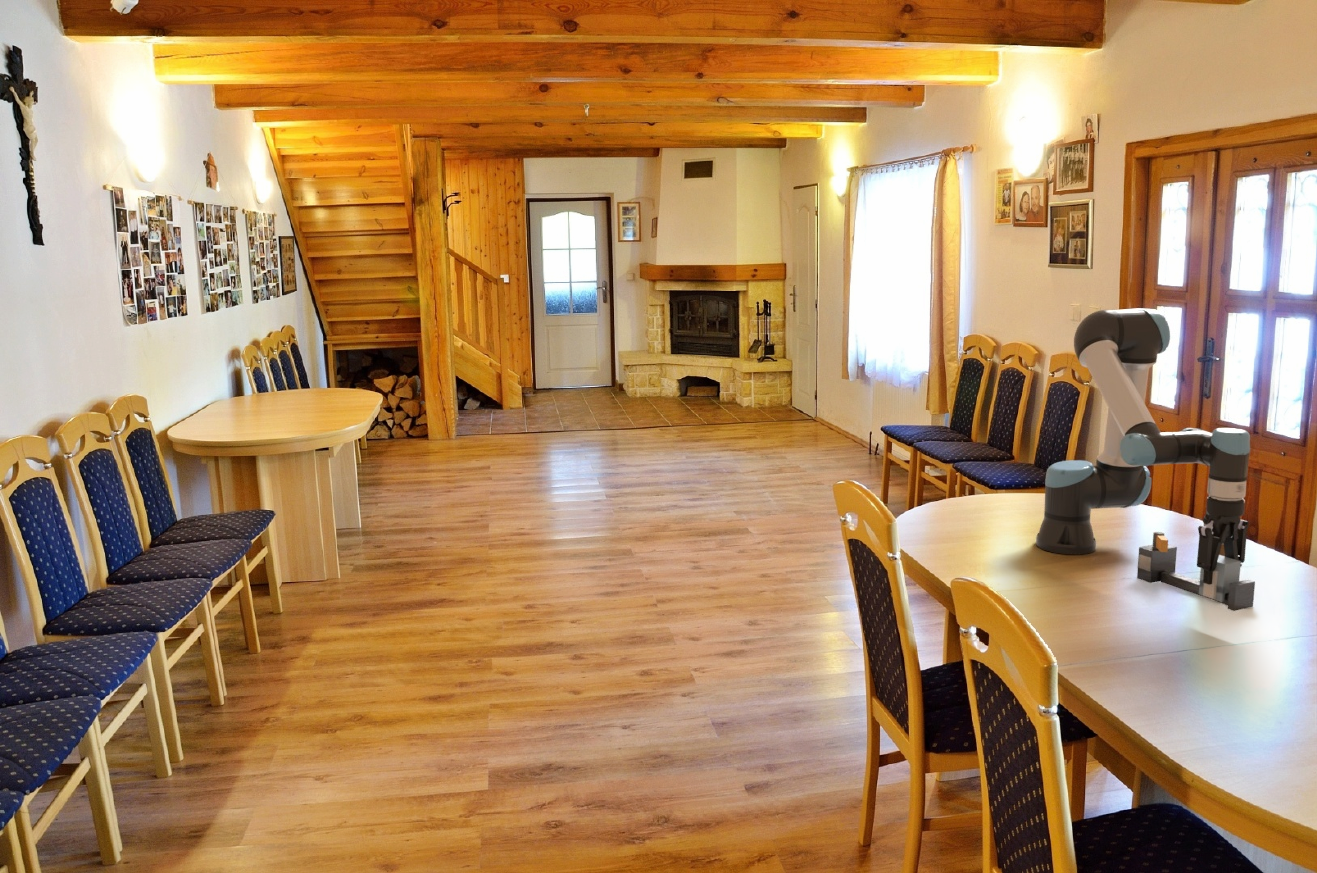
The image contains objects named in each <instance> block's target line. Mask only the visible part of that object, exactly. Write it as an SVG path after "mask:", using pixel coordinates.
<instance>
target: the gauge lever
mask: <svg viewBox="0 0 1317 873" xmlns="http://www.w3.org/2000/svg"><path fill="white" fill-rule="evenodd" d="M1152 536H1153V537H1152V545H1153V546H1154V547H1156V548H1157V549H1158V550H1159V551H1160V552H1167V551H1168V544H1169V539H1168V538H1166V536H1165V533H1164V532H1161V531H1155V532H1153V534H1152Z"/></svg>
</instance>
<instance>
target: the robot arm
mask: <svg viewBox="0 0 1317 873" xmlns="http://www.w3.org/2000/svg"><path fill="white" fill-rule="evenodd" d="M1073 337H1074V338H1073V349H1074V353H1075V355H1076V358H1077V361H1078V362H1079V364H1080V365H1081V366H1082V367H1084V368H1086V369H1087V370H1088V371H1089V373H1090V375H1091V377H1092V379H1093V381H1094V383H1095V385H1096V387H1097V389H1098V390H1099V392H1100V395H1101V396H1102V398H1103V400H1104V402H1105V404H1106V406H1107V408H1108V409H1107V418H1106V424H1105V425H1106V427H1105V436H1104V444H1103V451H1102V452H1100V454H1098V455H1097V456H1096V460H1095V461H1096V462H1095V465H1093V462H1090V461H1087V460H1083V459H1077V460H1075V459H1074V460H1072V459H1071V460H1063V461H1058V462H1054V463H1053V464H1051V465H1050V466H1048V468H1047V469H1046V474H1045V480H1044V484H1045V486H1044V487H1045V488H1044V510H1043V511H1044V512H1043V513H1044V515H1043V520H1042V522H1041V524H1040V527H1039V532H1038V533H1037V535H1036V539H1035V544H1036V546H1037V548H1039V549H1041V550H1044V551H1046V552H1051V553H1055V554H1061V555H1062V554H1063V555H1087V554H1091V553H1093V552H1095V551H1096V547H1097V540H1096V538H1095V536H1094V532H1093V531H1094V530H1093V527H1092V523H1091V512H1092V511H1091V510H1097V509H1098V510H1099V509H1115V508H1119V509H1122V508H1123V509H1126V508H1131V507H1137V506H1140V505H1141V504H1142V503H1143V502H1145V501H1146V499H1147V498H1148V496H1149V494H1150V492H1151V488H1152V477H1150V476H1151V472H1150V470H1149V468H1148V466H1157V465H1158V466H1159V465H1181V464H1183V465H1184V464H1201V465H1205V466H1207V467H1209V468H1208V469H1209V471H1208V480H1207V491H1206V492H1207V495H1208V496H1207V497H1206V504H1205V505H1206V506H1205V511H1206V512H1208V513H1209V515H1210V518H1209V520H1208V524H1207V525H1205V526H1204V525H1199V526H1198V527H1197V529H1198V548H1197V557H1196V558H1197V559H1196V567H1197V568H1200V569H1201V568H1203V569H1204V575H1203V583H1204V587H1203V596H1206V597H1209V598H1212V599H1215V598H1216V588H1217V576H1218V571H1216V570H1215V568H1216V564H1217V561H1218V557H1219V553H1220V549H1221V546H1222V543H1224V551H1225V557H1228V558H1232V559H1235V560H1238V561H1241V566H1240V568H1242V567H1243V563H1245V560H1246V559H1245V558H1246V557H1245V556H1246V549H1247V548H1246V545H1247V534H1248V532H1247V531H1248V529H1249V526H1250V522H1249V521H1247V520H1244V519H1241V517H1243V515H1245V507H1246V500H1245V499H1244V498H1246V495H1247V492H1246V491H1247V481H1248V480H1247V479H1248V474H1249V473H1248V472H1249V461H1250V453H1251V435H1250V433H1249V431H1248V430H1245V429H1241V428H1234V427H1218V428H1215V429H1213V431H1212V432H1210V431H1207V430H1204V429H1202V428H1194V427H1186V428H1183V429H1181V430H1180V431H1165V432H1164V431H1162V432H1161V430H1160V428H1159V427H1158V425H1157V424H1156V422H1155V420H1154V418H1153V416H1152V415H1151V412H1150V410H1149V409H1148V407H1147V406H1146V396H1147V388H1148V381H1149V373H1150V368H1152V367H1153V365H1156V363H1157V362H1158V361H1157V359H1158V355H1159V354H1162V353H1164V352H1166V350H1167V348H1168V347H1169V344H1170V340H1171V331H1170V326H1169V324H1168V321H1167V319H1166V317H1165V315H1164V314H1163V313H1162V312H1160V311H1158V309H1154V308H1142V307H1141V308H1140V307H1139V308H1126V309H1123V308H1122V309H1102V310H1098V311H1094V312H1092V313H1090V314H1088V315H1087V316H1086V317H1084V318H1083V319H1082V321H1081V322H1080V323H1079V324H1078V326H1077V328H1076V330H1075V333H1074V336H1073ZM1214 536H1215V537H1214ZM1216 537H1218V538H1216Z"/></svg>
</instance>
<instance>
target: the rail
mask: <svg viewBox="0 0 1317 873" xmlns="http://www.w3.org/2000/svg"><path fill="white" fill-rule="evenodd" d="M1160 583H1162V584H1164V585H1168V586H1171V587H1173V588H1177V589H1179V590H1182V591H1185V592H1189V593H1190V594H1194V595H1197V596H1199V597H1202V598H1205V599H1209V600H1211V601H1214V602H1217V603H1219V604H1222V605H1225V606H1228V598H1229V593H1225V599H1224V602H1219V601H1217V600H1214V599H1211V598H1208V597H1205V596H1202V595H1199V585H1200V580H1197V579H1194V578H1190V577H1188V576H1185V575H1182V574H1179V573H1176V572H1175V573H1174V572H1171V571H1165V572H1161V581H1160Z"/></svg>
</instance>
